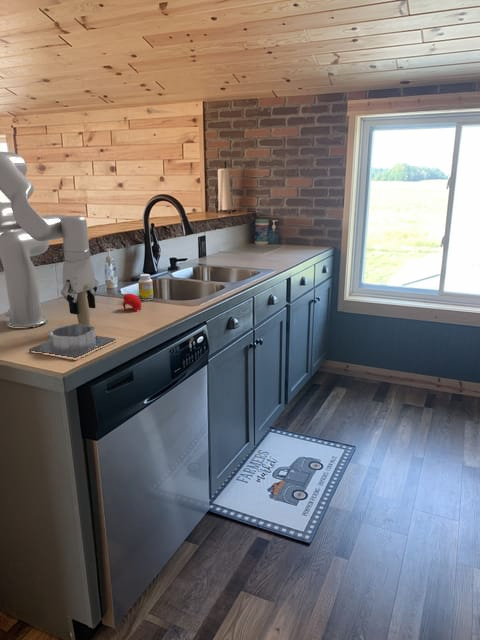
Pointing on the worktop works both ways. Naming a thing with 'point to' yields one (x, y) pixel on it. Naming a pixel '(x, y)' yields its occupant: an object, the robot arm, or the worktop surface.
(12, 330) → the worktop surface
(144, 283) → the supplement bottle
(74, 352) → the duct collar
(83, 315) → the handle
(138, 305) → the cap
